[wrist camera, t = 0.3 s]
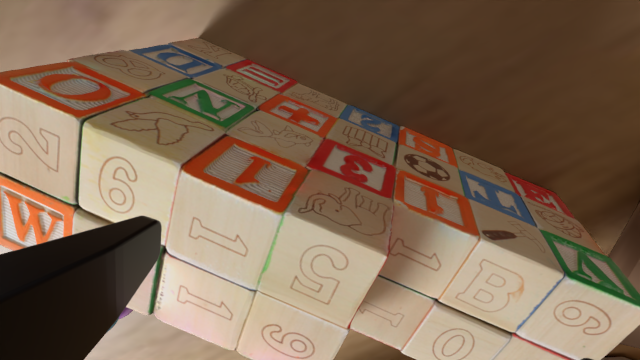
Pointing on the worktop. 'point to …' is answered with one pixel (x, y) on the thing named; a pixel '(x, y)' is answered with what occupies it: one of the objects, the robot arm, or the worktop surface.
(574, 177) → the worktop surface
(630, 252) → the plinth
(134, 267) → the robot arm
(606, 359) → the flask
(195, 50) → the stack of blocks
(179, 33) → the worktop surface
